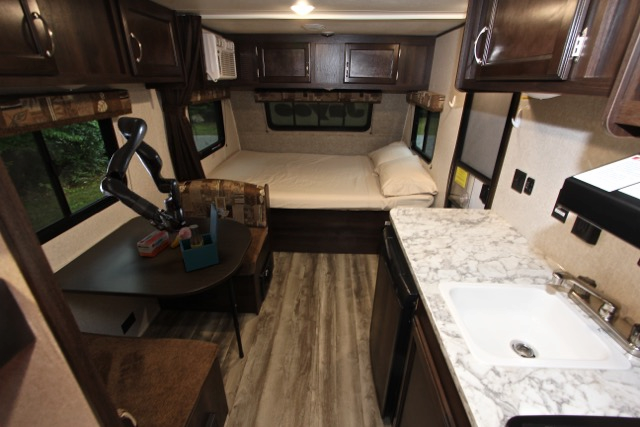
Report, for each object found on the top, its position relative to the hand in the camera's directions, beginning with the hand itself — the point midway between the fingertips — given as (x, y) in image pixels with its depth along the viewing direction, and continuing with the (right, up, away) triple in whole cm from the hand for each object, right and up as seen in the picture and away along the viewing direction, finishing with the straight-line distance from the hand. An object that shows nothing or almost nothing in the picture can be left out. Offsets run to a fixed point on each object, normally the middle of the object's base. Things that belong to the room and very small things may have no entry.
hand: (175, 228), depth 144 cm
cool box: (+8, -18, +10) cm, 22 cm away
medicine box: (-21, -13, +20) cm, 32 cm away
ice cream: (-7, -11, +25) cm, 28 cm away
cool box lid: (+16, +3, +5) cm, 17 cm away
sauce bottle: (+8, -17, +10) cm, 21 cm away
